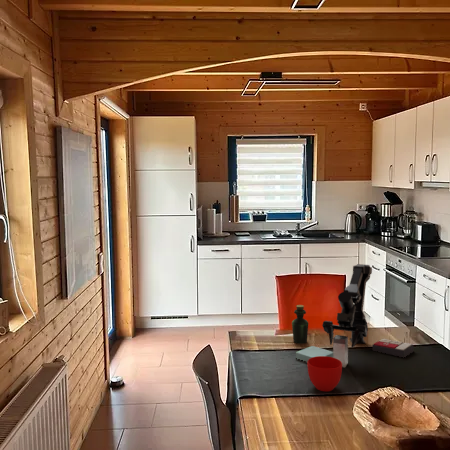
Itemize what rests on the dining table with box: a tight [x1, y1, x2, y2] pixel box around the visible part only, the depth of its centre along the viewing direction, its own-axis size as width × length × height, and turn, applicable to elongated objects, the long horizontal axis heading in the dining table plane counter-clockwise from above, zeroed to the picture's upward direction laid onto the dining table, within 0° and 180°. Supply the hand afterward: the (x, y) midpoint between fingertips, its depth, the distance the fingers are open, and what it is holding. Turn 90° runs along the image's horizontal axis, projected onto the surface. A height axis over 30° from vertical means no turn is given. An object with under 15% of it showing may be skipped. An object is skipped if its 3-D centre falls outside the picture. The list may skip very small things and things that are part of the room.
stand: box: [295, 345, 333, 363], centre depth 209 cm, size 12×12×3 cm
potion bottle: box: [291, 304, 309, 345], centre depth 232 cm, size 8×8×18 cm
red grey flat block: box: [371, 338, 414, 359], centre depth 218 cm, size 11×4×15 cm
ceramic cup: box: [306, 356, 343, 392], centre depth 181 cm, size 13×17×10 cm
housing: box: [332, 334, 349, 368], centre depth 202 cm, size 5×5×12 cm
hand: (341, 346), depth 203 cm, fingers open, 9 cm apart
